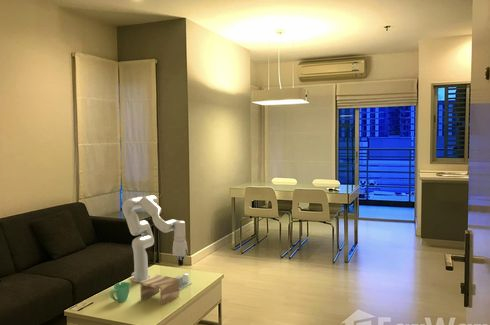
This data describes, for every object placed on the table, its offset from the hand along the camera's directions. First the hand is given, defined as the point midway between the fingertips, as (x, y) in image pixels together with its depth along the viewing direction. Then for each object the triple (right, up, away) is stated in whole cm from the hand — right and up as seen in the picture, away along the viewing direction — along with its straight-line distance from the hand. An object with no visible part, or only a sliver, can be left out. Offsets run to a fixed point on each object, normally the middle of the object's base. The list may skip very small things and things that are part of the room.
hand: (180, 265), depth 278 cm
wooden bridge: (-10, -17, -18) cm, 27 cm away
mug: (-35, -17, -23) cm, 45 cm away
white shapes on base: (-1, -16, -1) cm, 16 cm away
